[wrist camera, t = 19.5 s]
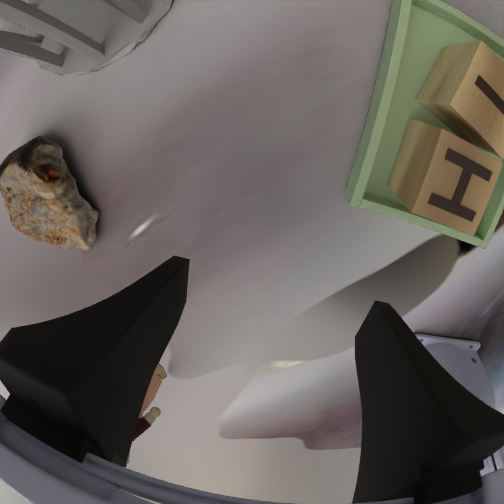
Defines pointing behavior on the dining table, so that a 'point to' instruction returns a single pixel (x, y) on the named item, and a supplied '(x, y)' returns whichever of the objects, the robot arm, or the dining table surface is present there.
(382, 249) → the dining table surface
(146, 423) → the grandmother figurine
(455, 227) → the wooden h block
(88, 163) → the dining table surface
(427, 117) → the tray
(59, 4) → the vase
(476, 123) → the wooden i block
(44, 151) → the rock
